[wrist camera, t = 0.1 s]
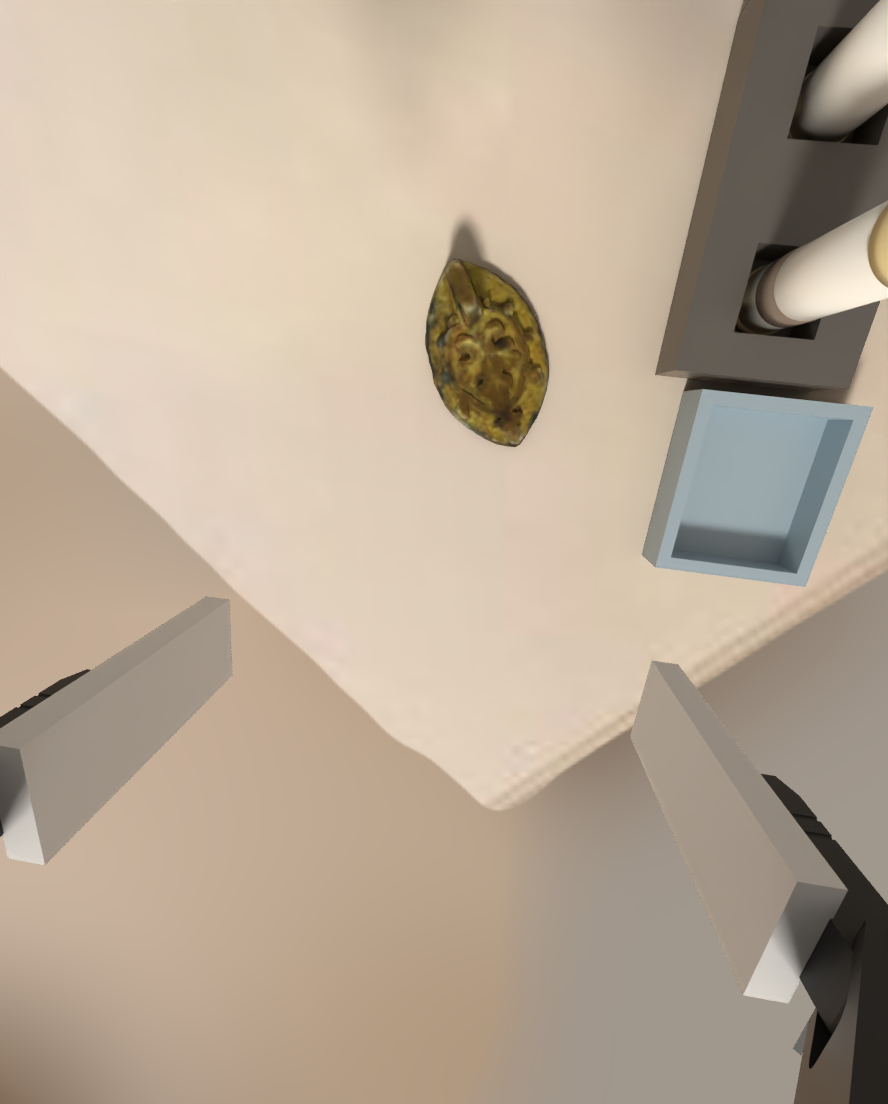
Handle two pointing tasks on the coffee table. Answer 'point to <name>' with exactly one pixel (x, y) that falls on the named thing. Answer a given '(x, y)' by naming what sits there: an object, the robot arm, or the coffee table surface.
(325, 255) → the coffee table surface
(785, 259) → the cylinder
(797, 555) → the parts tray
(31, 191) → the coffee table surface
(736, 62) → the fuse holder
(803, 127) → the fuse
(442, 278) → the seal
